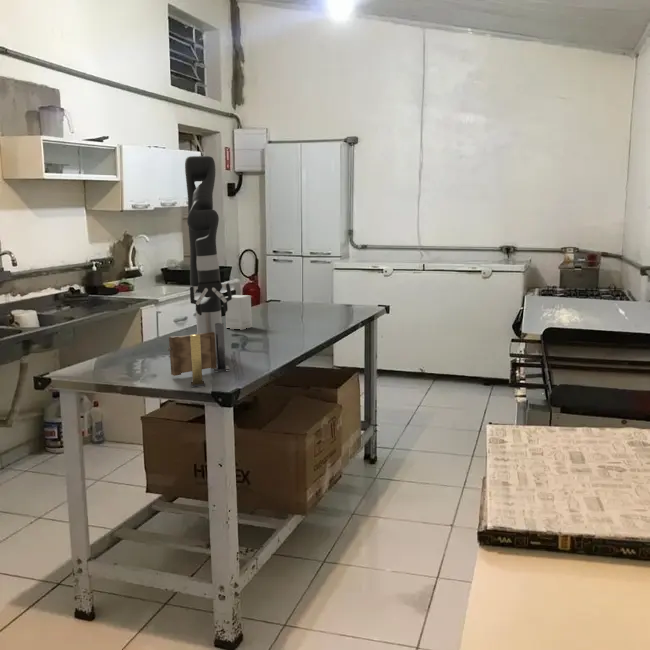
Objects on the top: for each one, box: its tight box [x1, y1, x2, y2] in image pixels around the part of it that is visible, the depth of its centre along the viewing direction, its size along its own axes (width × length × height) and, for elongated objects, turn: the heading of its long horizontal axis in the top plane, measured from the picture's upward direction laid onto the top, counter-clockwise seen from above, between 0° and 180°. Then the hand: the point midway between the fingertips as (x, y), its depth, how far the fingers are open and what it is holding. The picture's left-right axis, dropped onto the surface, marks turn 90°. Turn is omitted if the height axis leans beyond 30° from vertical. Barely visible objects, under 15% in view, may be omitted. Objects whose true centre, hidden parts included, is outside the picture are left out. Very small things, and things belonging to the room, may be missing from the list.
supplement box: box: [224, 294, 253, 331], centre depth 319 cm, size 9×9×15 cm
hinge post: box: [213, 322, 231, 372], centre depth 236 cm, size 5×5×16 cm
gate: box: [167, 332, 217, 377], centre depth 230 cm, size 17×2×13 cm, turn 128°
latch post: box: [189, 333, 206, 387], centre depth 216 cm, size 4×4×16 cm
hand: (212, 313), depth 244 cm, fingers open, 8 cm apart
